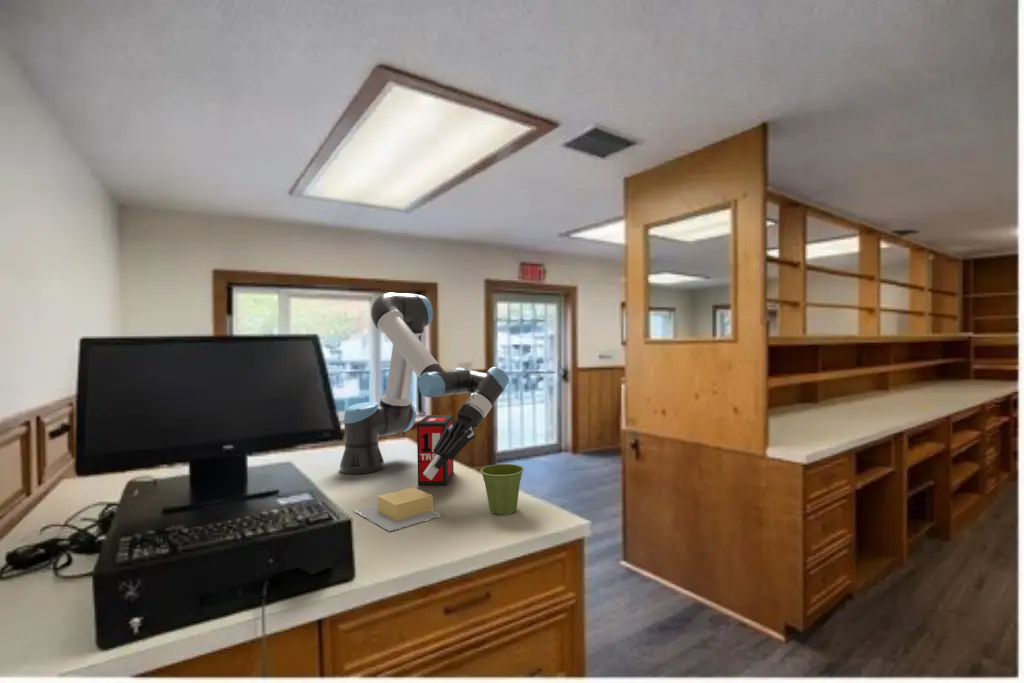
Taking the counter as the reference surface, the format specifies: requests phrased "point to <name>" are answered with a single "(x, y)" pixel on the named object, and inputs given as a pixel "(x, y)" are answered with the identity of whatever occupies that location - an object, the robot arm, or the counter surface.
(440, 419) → the cleaning product box
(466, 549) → the counter surface
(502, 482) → the plant pot
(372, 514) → the mat
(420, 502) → the ochre box
